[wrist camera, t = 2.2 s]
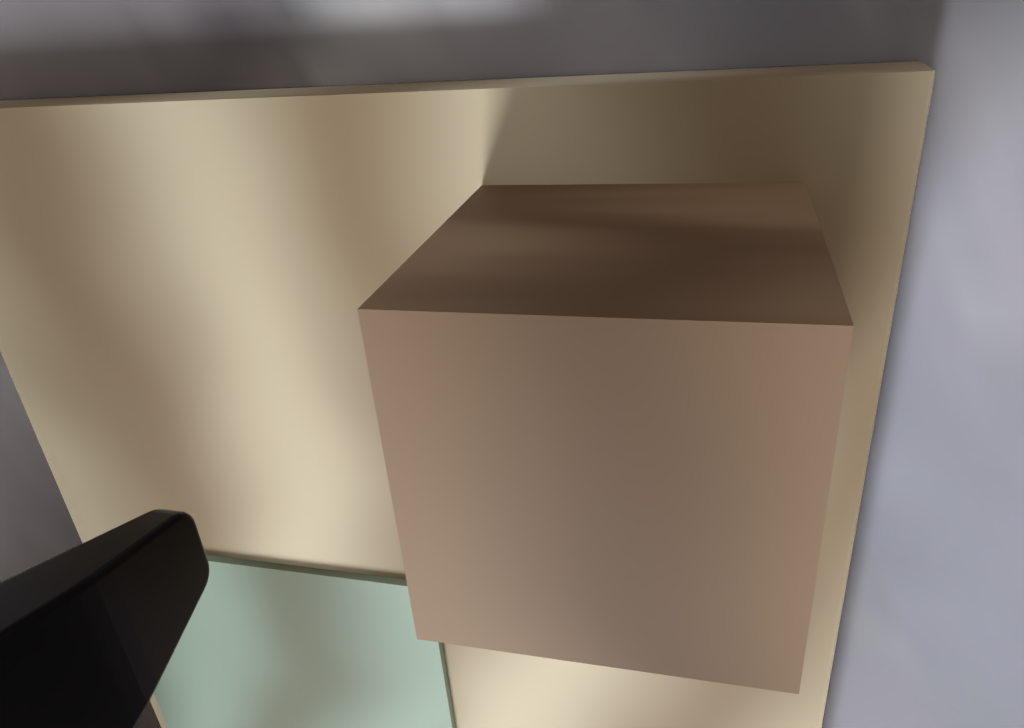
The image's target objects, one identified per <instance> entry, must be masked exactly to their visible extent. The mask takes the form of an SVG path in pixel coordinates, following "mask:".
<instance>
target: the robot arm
mask: <svg viewBox="0 0 1024 728" xmlns="http://www.w3.org/2000/svg"><path fill="white" fill-rule="evenodd" d="M208 578H209V563H208V559H207V556H206V553H205V550H204V547H203V544H202V541H201V538H200V535H199V532H198V529H197V526H196V523H195V521H194V519H193V517H192V516H191V515H190V514H189V513H186V512H184V511H176V510H167V509H155V510H152V511H149V512H147V513H145V514H143V515H141V516H139V517H136V518H134V519H132V520H130V521H128V522H126V523H124V524H122V525H120V526H118V527H116V528H114V529H111V530H109V531H107V532H105V533H103V534H101V535H99V536H97V537H95V538H93V539H91V540H89V541H86V542H84V543H82V544H80V545H78V546H76V547H74V548H72V549H70V550H68V551H66V552H64V553H61V554H59V555H57V556H55V557H53V558H51V559H49V560H47V561H45V562H43V563H41V564H39V565H36V566H34V567H32V568H30V569H28V570H26V571H24V572H22V573H20V574H18V575H16V576H14V577H11V578H9V579H7V580H5V581H3V582H1V583H0V728H134V727H135V725H136V723H137V722H138V720H139V718H140V717H141V715H142V713H143V711H144V710H145V708H146V706H147V704H148V703H149V701H150V699H151V697H152V695H153V693H154V691H155V689H156V687H157V685H158V683H159V681H160V679H161V677H162V675H163V673H164V671H165V669H166V667H167V665H168V663H169V661H170V659H171V657H172V655H173V653H174V651H175V649H176V647H177V645H178V643H179V641H180V638H181V636H182V634H183V632H184V630H185V628H186V626H187V624H188V622H189V620H190V618H191V616H192V614H193V612H194V610H195V608H196V606H197V604H198V602H199V600H200V598H201V596H202V594H203V592H204V590H205V587H206V585H207V582H208Z"/></svg>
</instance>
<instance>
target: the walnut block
mask: <svg viewBox="0 0 1024 728" xmlns="http://www.w3.org/2000/svg"><path fill="white" fill-rule="evenodd" d="M357 310H358V316H359V321H360V327H361V332H362V338H363V343H364V349H365V354H366V360H367V365H368V371H369V376H370V382H371V388H372V393H373V399H374V404H375V410H376V415H377V421H378V426H379V432H380V437H381V443H382V448H383V454H384V459H385V465H386V470H387V476H388V482H389V487H390V493H391V498H392V504H393V509H394V515H395V520H396V526H397V531H398V537H399V542H400V548H401V553H402V559H403V565H404V570H405V576H406V581H407V587H408V592H409V598H410V603H411V609H412V614H413V620H414V625H415V631H416V636H417V639H418V640H425V641H432V642H439V643H446V644H453V645H460V646H467V647H474V648H481V649H488V650H495V651H502V652H509V653H516V654H523V655H529V656H536V657H543V658H550V659H557V660H564V661H571V662H578V663H585V664H592V665H599V666H606V667H613V668H620V669H627V670H634V671H640V672H647V673H654V674H661V675H668V676H675V677H682V678H689V679H696V680H703V681H710V682H717V683H724V684H731V685H738V686H745V687H751V688H758V689H765V690H772V691H779V692H786V693H793V694H799V691H800V684H801V677H802V671H803V664H804V657H805V650H806V644H807V637H808V630H809V624H810V617H811V610H812V603H813V597H814V590H815V583H816V577H817V570H818V563H819V556H820V550H821V543H822V536H823V530H824V523H825V516H826V509H827V503H828V496H829V489H830V483H831V476H832V469H833V463H834V456H835V449H836V442H837V436H838V429H839V422H840V416H841V409H842V402H843V395H844V389H845V382H846V375H847V369H848V362H849V355H850V348H851V342H852V335H853V328H854V325H853V322H852V319H851V316H850V313H849V310H848V307H847V304H846V301H845V298H844V295H843V292H842V289H841V286H840V283H839V280H838V277H837V274H836V272H835V269H834V266H833V263H832V260H831V257H830V254H829V251H828V248H827V245H826V242H825V239H824V236H823V233H822V230H821V227H820V224H819V221H818V218H817V215H816V212H815V209H814V206H813V203H812V200H811V197H810V194H809V192H808V189H807V186H806V183H688V184H569V185H481V186H480V187H479V188H478V189H477V190H476V191H475V192H474V193H473V194H472V195H471V196H470V197H469V198H468V199H467V200H466V201H465V202H464V203H463V204H462V205H461V206H460V207H459V208H458V209H457V210H456V211H455V212H454V213H453V214H452V215H451V216H450V217H449V218H448V219H447V220H446V221H445V222H444V223H443V224H442V225H441V226H440V227H439V228H438V229H437V230H436V231H435V232H434V233H433V234H432V235H431V236H430V237H429V238H428V239H427V240H426V241H425V242H424V243H423V244H422V245H421V246H420V247H419V248H418V249H417V250H416V251H415V252H414V253H413V254H412V255H411V256H410V257H409V258H408V259H407V260H406V261H405V262H404V263H403V264H402V265H401V266H400V267H399V268H398V269H397V270H396V271H395V272H394V273H393V274H392V275H391V276H390V277H389V278H388V279H387V280H386V281H385V282H384V283H383V284H382V285H381V286H380V287H379V288H378V289H377V290H376V291H375V292H374V293H373V294H372V295H371V296H370V297H369V298H368V299H367V300H366V301H365V302H364V303H363V304H362V305H361V306H360V307H359V308H358V309H357Z"/></svg>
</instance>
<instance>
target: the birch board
mask: <svg viewBox="0 0 1024 728" xmlns="http://www.w3.org/2000/svg"><path fill="white" fill-rule="evenodd" d="M935 72H936V71H935V70H934V69H932V68H930V67H929V66H927V65H925V64H924V63H922V62H920V61H908V62H885V63H861V64H838V65H815V66H792V67H769V68H745V69H722V70H699V71H676V72H652V73H629V74H606V75H583V76H560V77H536V78H513V79H490V80H467V81H443V82H420V83H397V84H374V85H351V86H327V87H304V88H281V89H258V90H234V91H211V92H188V93H165V94H142V95H118V96H95V97H72V98H49V99H25V100H2V101H0V352H1V355H2V357H3V359H4V362H5V364H6V366H7V369H8V371H9V373H10V376H11V378H12V380H13V383H14V385H15V387H16V390H17V392H18V394H19V397H20V399H21V401H22V404H23V406H24V408H25V411H26V413H27V415H28V418H29V420H30V422H31V425H32V427H33V429H34V432H35V434H36V436H37V439H38V441H39V443H40V446H41V448H42V450H43V452H44V455H45V457H46V459H47V462H48V464H49V466H50V469H51V471H52V473H53V476H54V478H55V480H56V483H57V485H58V487H59V490H60V492H61V494H62V497H63V499H64V501H65V504H66V506H67V508H68V511H69V513H70V515H71V518H72V520H73V522H74V525H75V527H76V529H77V532H78V534H79V536H80V539H81V541H82V543H84V542H86V541H89V540H91V539H93V538H95V537H97V536H99V535H101V534H103V533H105V532H107V531H109V530H111V529H114V528H116V527H118V526H120V525H122V524H124V523H126V522H128V521H130V520H132V519H134V518H136V517H139V516H141V515H143V514H145V513H147V512H149V511H152V510H155V509H167V510H176V511H184V512H186V513H189V514H190V515H191V516H192V517H193V519H194V521H195V523H196V526H197V529H198V532H199V535H200V538H201V541H202V544H203V547H204V550H205V553H206V556H207V559H208V563H209V578H208V582H207V585H206V587H205V590H204V592H203V594H202V596H201V598H200V600H199V602H198V604H197V606H196V608H195V610H194V612H193V614H192V616H191V618H190V620H189V622H188V624H187V626H186V628H185V630H184V632H183V634H182V636H181V638H180V641H179V643H178V645H177V647H176V649H175V651H174V653H173V655H172V657H171V659H170V661H169V663H168V665H167V667H166V669H165V671H164V673H163V675H162V677H161V679H160V681H159V683H158V685H157V687H156V689H155V691H154V693H153V695H152V697H151V699H150V702H151V704H152V707H153V709H154V711H155V714H156V716H157V718H158V721H159V723H160V725H161V728H821V727H822V721H823V716H824V710H825V704H826V698H827V693H828V687H829V681H830V675H831V670H832V664H833V658H834V652H835V647H836V641H837V635H838V629H839V624H840V618H841V612H842V606H843V601H844V595H845V589H846V584H847V578H848V572H849V566H850V561H851V555H852V549H853V543H854V538H855V532H856V526H857V520H858V515H859V509H860V503H861V497H862V492H863V486H864V480H865V474H866V469H867V463H868V457H869V451H870V446H871V440H872V434H873V428H874V423H875V417H876V411H877V405H878V400H879V394H880V388H881V382H882V377H883V371H884V365H885V360H886V354H887V348H888V342H889V337H890V331H891V325H892V319H893V314H894V308H895V302H896V296H897V291H898V285H899V279H900V273H901V268H902V262H903V256H904V250H905V245H906V239H907V233H908V227H909V222H910V216H911V210H912V204H913V199H914V193H915V187H916V181H917V176H918V170H919V164H920V158H921V153H922V147H923V141H924V135H925V130H926V124H927V118H928V113H929V107H930V101H931V95H932V90H933V84H934V78H935ZM688 183H806V186H807V189H808V192H809V194H810V197H811V200H812V203H813V206H814V209H815V212H816V215H817V218H818V221H819V224H820V227H821V230H822V233H823V236H824V239H825V242H826V245H827V248H828V251H829V254H830V257H831V260H832V263H833V266H834V269H835V272H836V274H837V277H838V280H839V283H840V286H841V289H842V292H843V295H844V298H845V301H846V304H847V307H848V310H849V313H850V316H851V319H852V322H853V325H854V328H853V335H852V342H851V348H850V355H849V362H848V369H847V375H846V382H845V389H844V395H843V402H842V409H841V416H840V422H839V429H838V436H837V442H836V449H835V456H834V463H833V469H832V476H831V483H830V489H829V496H828V503H827V509H826V516H825V523H824V530H823V536H822V543H821V550H820V556H819V563H818V570H817V577H816V583H815V590H814V597H813V603H812V610H811V617H810V624H809V630H808V637H807V644H806V650H805V657H804V664H803V671H802V677H801V684H800V691H799V694H793V693H786V692H779V691H772V690H765V689H758V688H751V687H745V686H738V685H731V684H724V683H717V682H710V681H703V680H696V679H689V678H682V677H675V676H668V675H661V674H654V673H647V672H640V671H634V670H627V669H620V668H613V667H606V666H599V665H592V664H585V663H578V662H571V661H564V660H557V659H550V658H543V657H536V656H529V655H523V654H516V653H509V652H502V651H495V650H488V649H481V648H474V647H467V646H460V645H453V644H446V643H439V642H432V641H425V640H418V639H417V636H416V631H415V625H414V620H413V614H412V609H411V603H410V598H409V592H408V587H407V581H406V576H405V570H404V565H403V559H402V553H401V548H400V542H399V537H398V531H397V526H396V520H395V515H394V509H393V504H392V498H391V493H390V487H389V482H388V476H387V470H386V465H385V459H384V454H383V448H382V443H381V437H380V432H379V426H378V421H377V415H376V410H375V404H374V399H373V393H372V388H371V382H370V376H369V371H368V365H367V360H366V354H365V349H364V343H363V338H362V332H361V327H360V321H359V316H358V310H357V309H358V308H359V307H360V306H361V305H362V304H363V303H364V302H365V301H366V300H367V299H368V298H369V297H370V296H371V295H372V294H373V293H374V292H375V291H376V290H377V289H378V288H379V287H380V286H381V285H382V284H383V283H384V282H385V281H386V280H387V279H388V278H389V277H390V276H391V275H392V274H393V273H394V272H395V271H396V270H397V269H398V268H399V267H400V266H401V265H402V264H403V263H404V262H405V261H406V260H407V259H408V258H409V257H410V256H411V255H412V254H413V253H414V252H415V251H416V250H417V249H418V248H419V247H420V246H421V245H422V244H423V243H424V242H425V241H426V240H427V239H428V238H429V237H430V236H431V235H432V234H433V233H434V232H435V231H436V230H437V229H438V228H439V227H440V226H441V225H442V224H443V223H444V222H445V221H446V220H447V219H448V218H449V217H450V216H451V215H452V214H453V213H454V212H455V211H456V210H457V209H458V208H459V207H460V206H461V205H462V204H463V203H464V202H465V201H466V200H467V199H468V198H469V197H470V196H471V195H472V194H473V193H474V192H475V191H476V190H477V189H478V188H479V187H480V186H481V185H569V184H688Z"/></svg>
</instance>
